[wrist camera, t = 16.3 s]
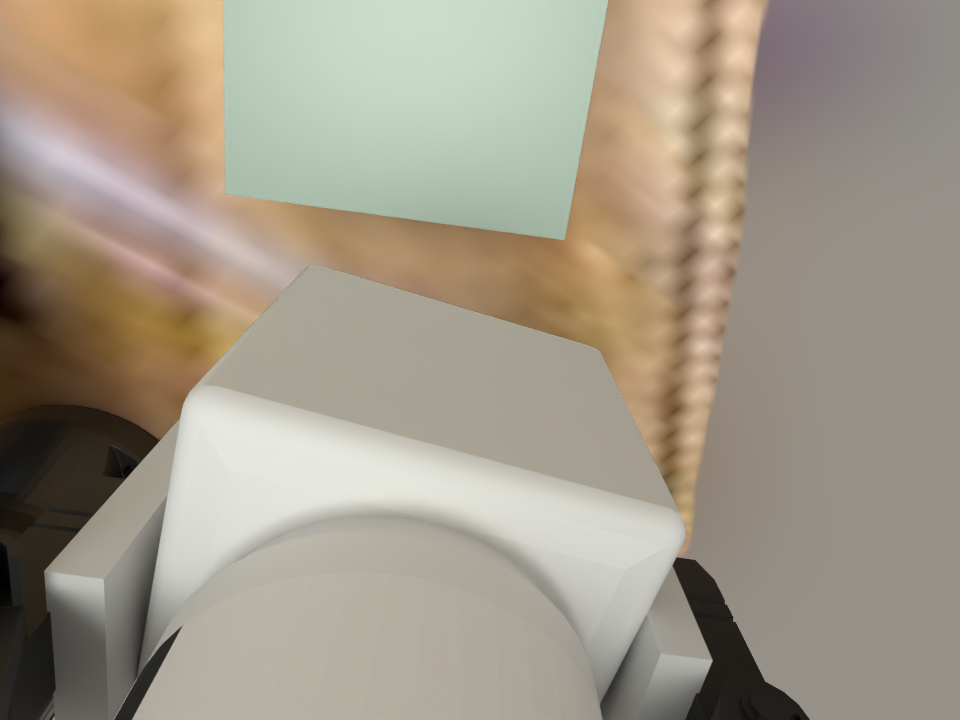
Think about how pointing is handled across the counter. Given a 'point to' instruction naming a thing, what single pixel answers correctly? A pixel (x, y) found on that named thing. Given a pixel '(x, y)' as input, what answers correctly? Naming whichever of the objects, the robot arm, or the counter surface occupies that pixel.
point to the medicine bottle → (400, 521)
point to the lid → (412, 107)
